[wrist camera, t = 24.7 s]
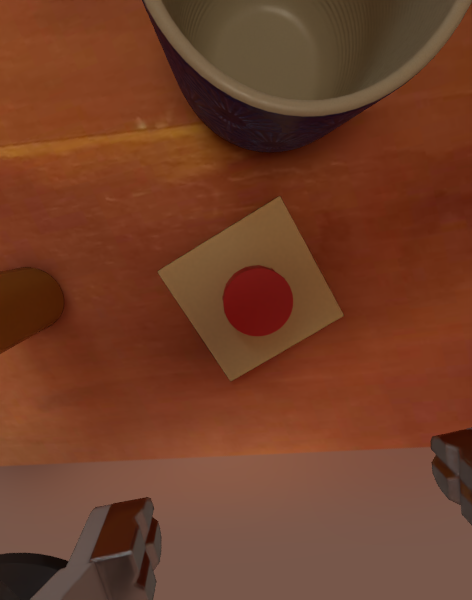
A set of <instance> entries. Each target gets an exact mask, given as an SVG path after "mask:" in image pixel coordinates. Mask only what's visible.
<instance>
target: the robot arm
mask: <svg viewBox="0 0 472 600" xmlns="http://www.w3.org/2000/svg"><path fill="white" fill-rule="evenodd" d="M431 449H432V451H433V452H435V454H436V456H435V458H434V459H433V461H432V471H433V475H434V477H435V480H436V482H437V484H438V486H439V487H440V489H441V491H442V492H443V493H444V494H445V495H446V497H447V498H448V499H449V500H451V501H453V502H455V503H457V504H459V505H461V511H462V515H463V516H464V517H465V518H466V519H467V521H468V522H469V523H470V524H471V525H472V427H471V428H467V429H464V430H459V431H455V432H450V433H446V434H441V435H437V436H432V439H431ZM153 510H154V507H153V504H152V501H151V498H148V497H146V498H140V499H135V500H130V501H124V502H119V503H114V504H111V505H105V506H100V507H95V508H94V509H93V510H92V512H91V513H90V515H89V517H88V520H87V522H86V524H85V526H84V528H83V531H82V533H81V535H80V538H79V540H78V542H77V544H76V546H75V549H74V551H73V553H72V555H71V558H70V560H69V562H68V564H67V566H66V568H64V569H60V570H59V571H58V572H57V573H56V574H55V575H54V576H53V577H52V578H51V579H50V580H49V581H48V582H47V583H46V584H45V585H44V586H43V587H42V588H41V589H40V590H39V591H38V592H37V593H36V594H35V595H34V596H33V597H32V598H31V599H30V600H153V597H154V591H155V586H156V579H155V575H154V572H153V571H154V569H155V568H156V567H157V565H158V564H159V562H160V555H161V532H160V527H159V523H158V521H157V520H156V519H154V518H153V517H152V515H153Z"/></svg>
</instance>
